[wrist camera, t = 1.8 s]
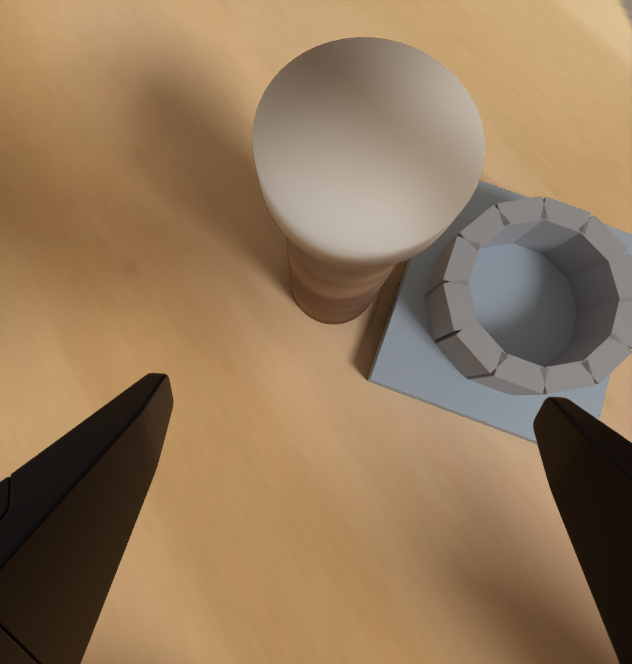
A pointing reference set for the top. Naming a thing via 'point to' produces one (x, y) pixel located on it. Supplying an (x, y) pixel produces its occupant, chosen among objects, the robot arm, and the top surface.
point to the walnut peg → (362, 165)
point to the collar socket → (511, 312)
